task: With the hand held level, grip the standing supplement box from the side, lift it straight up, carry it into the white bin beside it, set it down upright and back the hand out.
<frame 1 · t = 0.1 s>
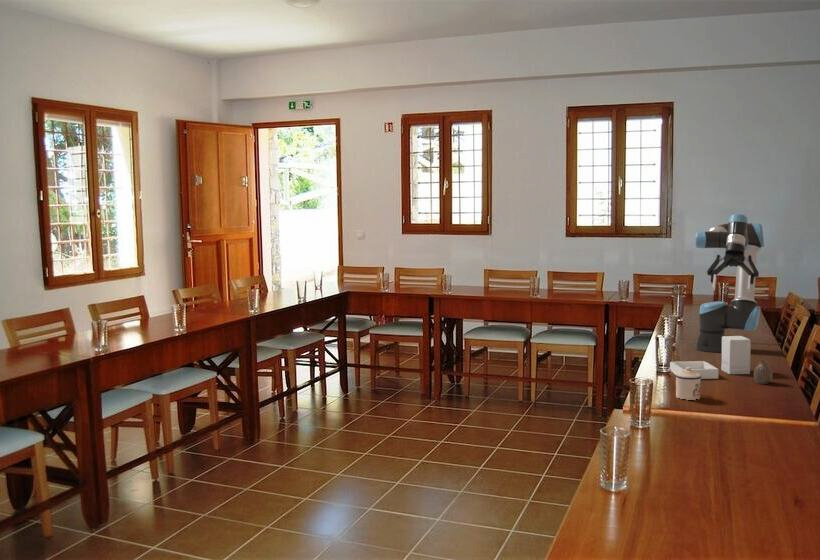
hand: (730, 289, 312), 36 cm above the table, tool tilted 35°, fingers open, 13 cm apart
teacup with lid: (688, 397, 281), on the table
supplement box: (735, 372, 317), on the table
white bin: (693, 374, 315), on the table
vase: (762, 383, 298), on the table
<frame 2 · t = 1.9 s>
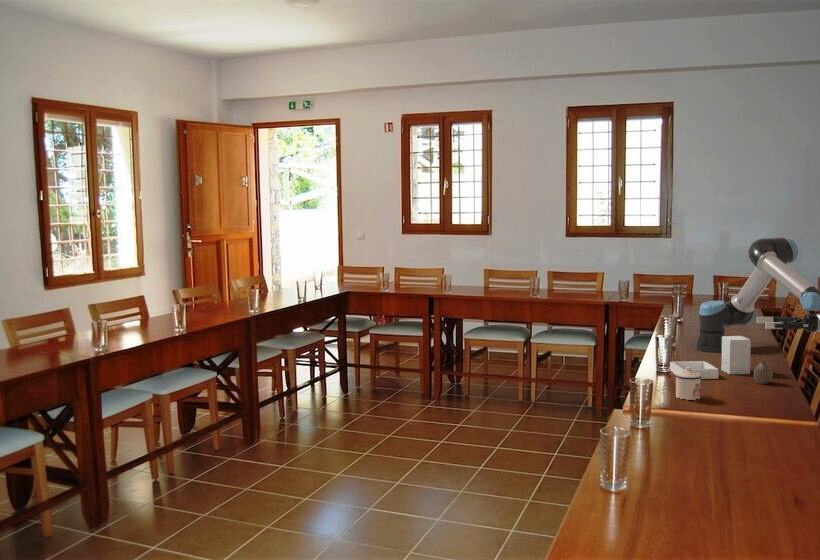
hand: (761, 322, 313), 21 cm above the table, tool horizontal, fingers open, 13 cm apart
nothing on the table moved.
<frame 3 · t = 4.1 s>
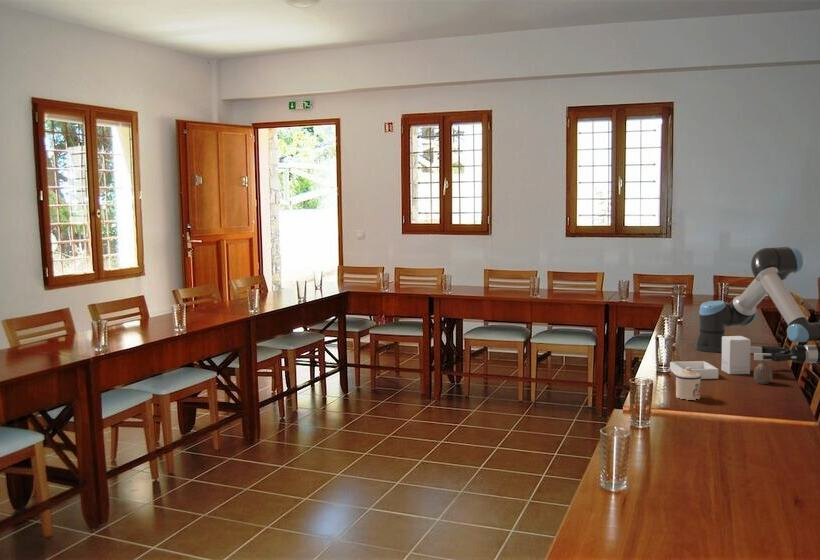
hand: (749, 353, 315), 8 cm above the table, tool horizontal, fingers open, 13 cm apart
nothing on the table moved.
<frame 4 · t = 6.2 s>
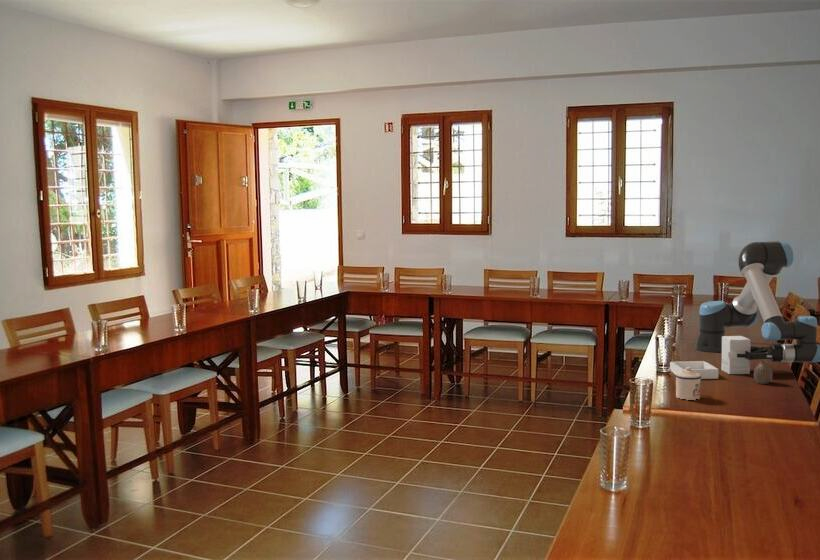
hand: (725, 352, 317), 9 cm above the table, tool horizontal, fingers closed on supplement box, 10 cm apart
supplement box: (735, 372, 317), on the table, touching gripper
everything else where it was.
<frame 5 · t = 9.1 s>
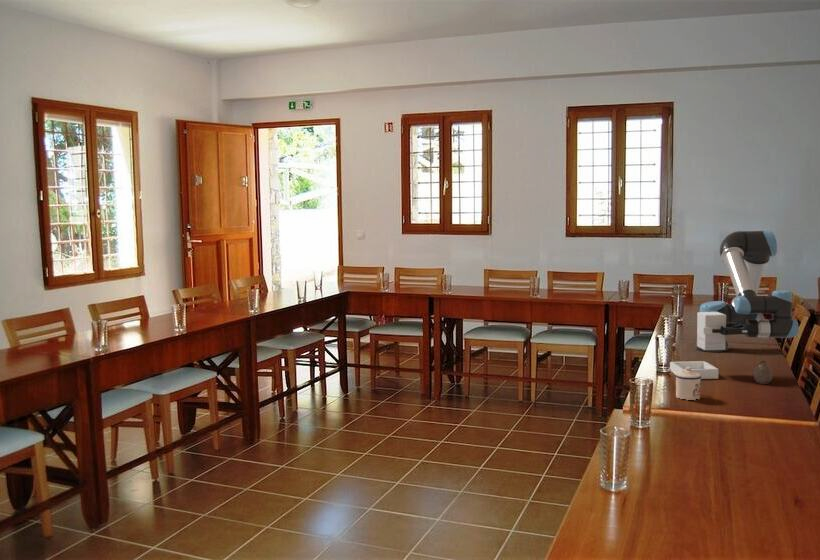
hand: (700, 328, 313), 20 cm above the table, tool horizontal, fingers closed on supplement box, 10 cm apart
supplement box: (711, 348, 313), point 11 cm above the table, touching gripper
everything else where it was.
when the fingers open (11 cm above the table, at t = 12.0 s): supplement box drops 1 cm, resting on white bin.
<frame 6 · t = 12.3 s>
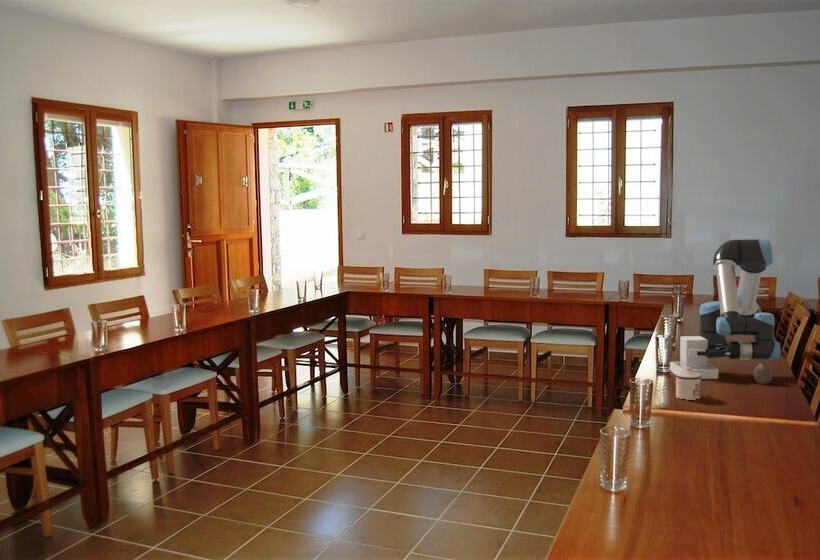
hand: (685, 349, 314), 11 cm above the table, tool horizontal, fingers open, 13 cm apart
supplement box: (693, 372, 315), point 1 cm above the table, touching white bin
everything else where it was.
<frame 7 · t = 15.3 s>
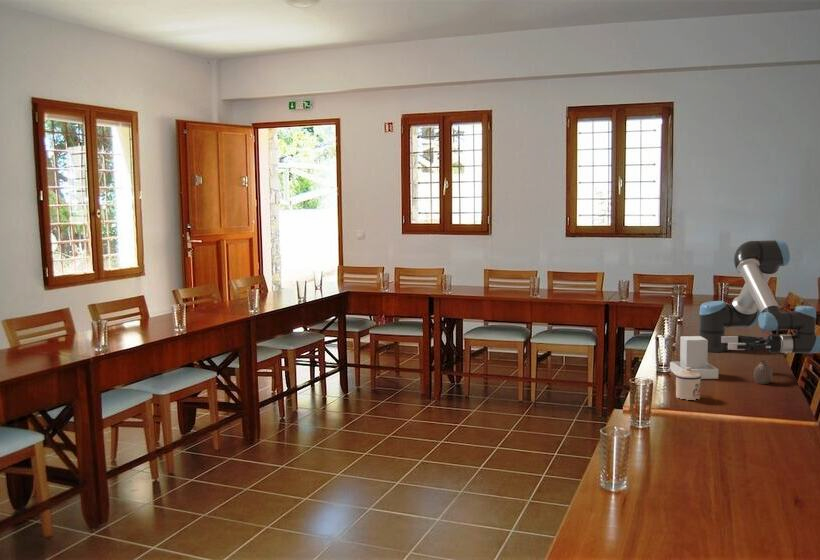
hand: (724, 342, 312), 14 cm above the table, tool horizontal, fingers open, 13 cm apart
nothing on the table moved.
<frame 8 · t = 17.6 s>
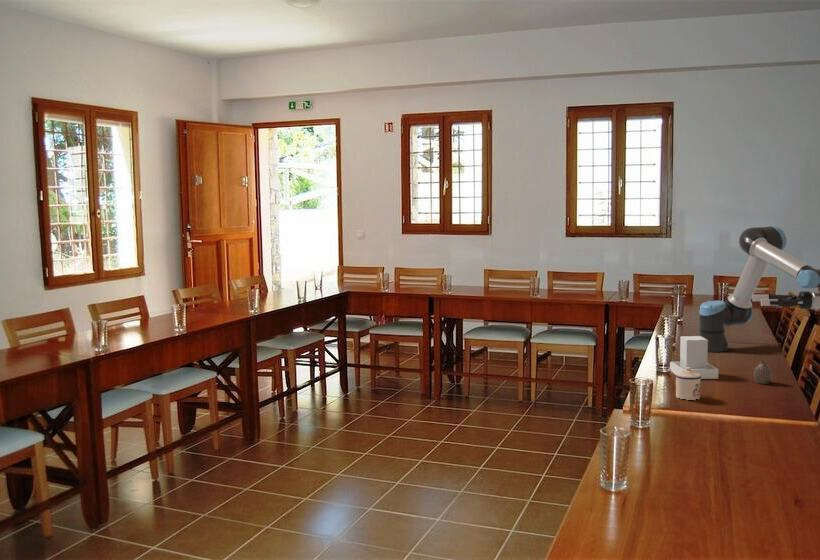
hand: (756, 300, 319), 30 cm above the table, tool horizontal, fingers open, 13 cm apart
nothing on the table moved.
at the end: supplement box inside the target area on the white bin (0.6 cm from its centre), point 0.6 cm above the white bin's base; supplement box tilted 0°; the gripper is holding nothing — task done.
